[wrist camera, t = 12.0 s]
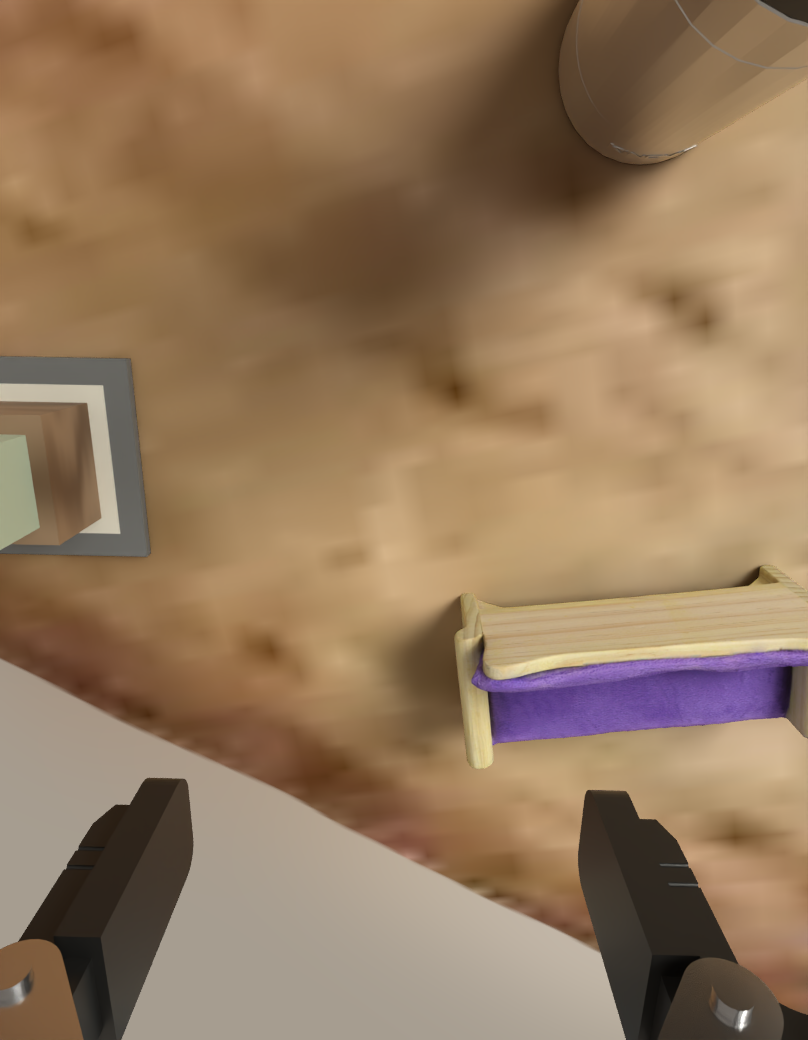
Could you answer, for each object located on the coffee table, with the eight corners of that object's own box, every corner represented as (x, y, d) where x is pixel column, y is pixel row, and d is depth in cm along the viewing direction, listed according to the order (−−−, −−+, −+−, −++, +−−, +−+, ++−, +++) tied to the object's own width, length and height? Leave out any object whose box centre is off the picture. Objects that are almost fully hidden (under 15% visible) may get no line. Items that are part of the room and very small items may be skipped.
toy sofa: (460, 707, 45) (472, 816, 35) (448, 591, 42) (458, 673, 33) (773, 680, 44) (876, 784, 34) (780, 558, 41) (893, 634, 32)
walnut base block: (-33, 400, 38) (-97, 412, 34) (87, 402, 38) (40, 415, 33) (-12, 515, 40) (-70, 542, 36) (101, 518, 40) (59, 545, 36)
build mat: (-76, 354, 38) (-84, 355, 38) (130, 358, 38) (125, 359, 37) (-38, 549, 42) (-45, 553, 41) (150, 553, 42) (146, 557, 41)
